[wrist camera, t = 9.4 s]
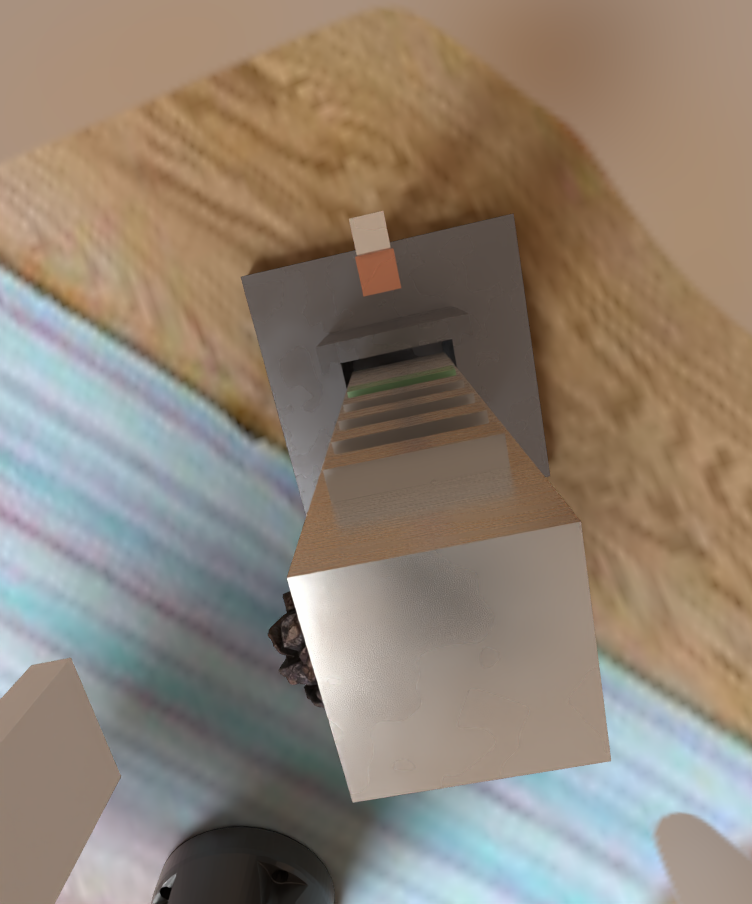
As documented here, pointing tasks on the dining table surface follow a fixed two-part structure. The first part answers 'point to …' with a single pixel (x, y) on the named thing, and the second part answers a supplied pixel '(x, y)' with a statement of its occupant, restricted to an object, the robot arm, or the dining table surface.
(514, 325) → the stand base
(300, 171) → the dining table surface
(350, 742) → the column
